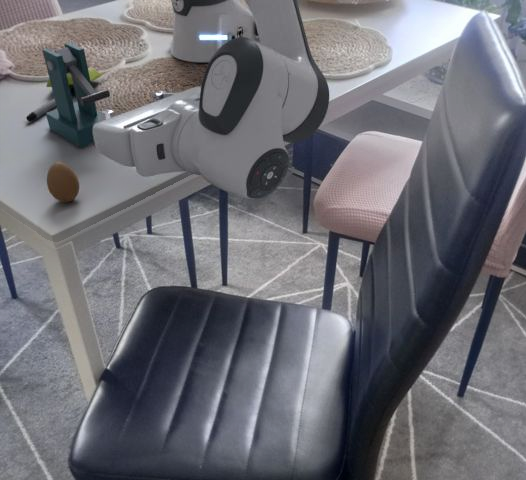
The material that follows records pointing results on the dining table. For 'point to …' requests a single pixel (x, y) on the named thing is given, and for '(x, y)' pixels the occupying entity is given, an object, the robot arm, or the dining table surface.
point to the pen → (45, 108)
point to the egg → (62, 182)
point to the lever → (81, 78)
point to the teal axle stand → (70, 99)
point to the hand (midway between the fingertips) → (130, 105)
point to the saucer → (92, 74)
